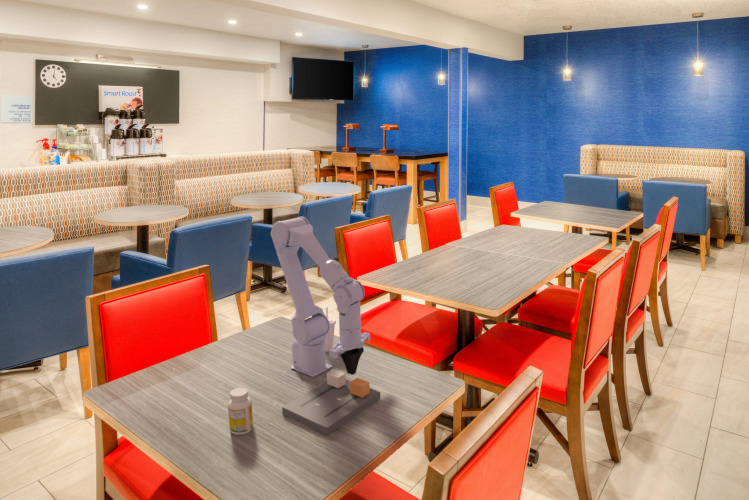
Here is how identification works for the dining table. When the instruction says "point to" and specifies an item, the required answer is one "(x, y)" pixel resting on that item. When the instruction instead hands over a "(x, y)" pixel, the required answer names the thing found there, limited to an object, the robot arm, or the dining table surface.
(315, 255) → the robot arm
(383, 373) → the dining table surface
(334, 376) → the off white fader
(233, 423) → the supplement bottle
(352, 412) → the fader console
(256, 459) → the dining table surface
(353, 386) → the block
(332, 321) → the smoothie
